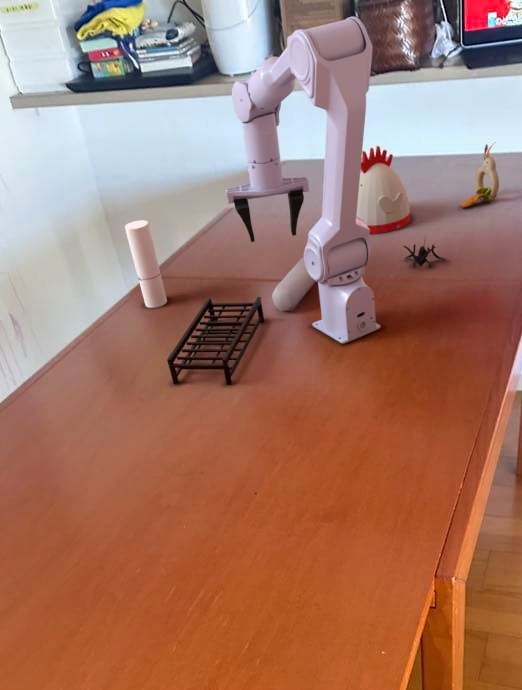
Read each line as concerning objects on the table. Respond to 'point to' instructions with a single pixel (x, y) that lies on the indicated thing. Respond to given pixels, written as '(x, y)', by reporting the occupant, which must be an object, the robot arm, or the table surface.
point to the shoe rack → (211, 323)
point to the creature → (422, 255)
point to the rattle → (482, 192)
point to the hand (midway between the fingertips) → (273, 236)
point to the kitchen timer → (381, 194)
